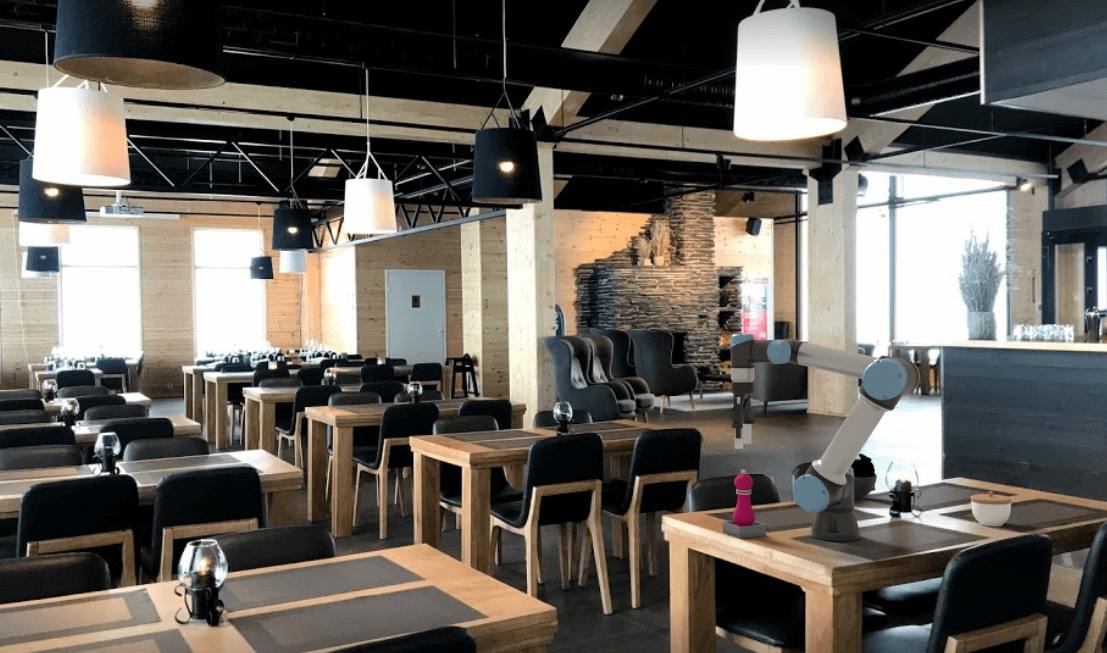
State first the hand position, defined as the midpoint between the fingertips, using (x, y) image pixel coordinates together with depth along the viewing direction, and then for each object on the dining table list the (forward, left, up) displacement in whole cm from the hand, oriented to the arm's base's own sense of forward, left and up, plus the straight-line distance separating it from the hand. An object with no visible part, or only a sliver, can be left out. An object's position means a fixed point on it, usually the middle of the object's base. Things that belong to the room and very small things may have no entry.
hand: (743, 446), depth 326 cm
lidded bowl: (-23, -83, -29) cm, 91 cm away
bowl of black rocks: (+34, -70, -29) cm, 83 cm away
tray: (0, 0, -29) cm, 29 cm away
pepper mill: (0, 0, -28) cm, 28 cm away
